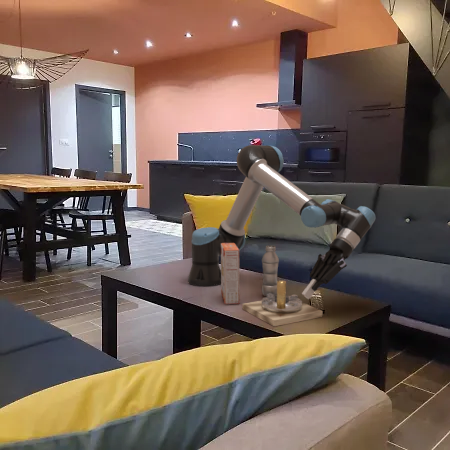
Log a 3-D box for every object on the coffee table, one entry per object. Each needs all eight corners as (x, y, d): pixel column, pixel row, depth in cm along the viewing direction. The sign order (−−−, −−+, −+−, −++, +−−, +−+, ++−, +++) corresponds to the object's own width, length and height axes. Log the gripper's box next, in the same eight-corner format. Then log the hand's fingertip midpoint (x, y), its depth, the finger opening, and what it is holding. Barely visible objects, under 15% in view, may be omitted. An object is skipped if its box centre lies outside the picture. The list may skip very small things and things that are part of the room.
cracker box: (220, 294, 189) (220, 242, 186) (235, 293, 189) (235, 242, 186) (223, 304, 175) (223, 249, 172) (239, 304, 176) (240, 249, 173)
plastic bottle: (277, 298, 183) (278, 248, 180) (260, 297, 184) (261, 247, 181) (279, 294, 189) (280, 245, 186) (262, 293, 190) (263, 244, 187)
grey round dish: (263, 299, 174) (263, 270, 172) (301, 301, 172) (302, 272, 170) (259, 313, 158) (260, 281, 156) (302, 315, 156) (302, 283, 154)
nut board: (242, 309, 170) (242, 303, 170) (287, 301, 180) (287, 295, 179) (274, 326, 153) (274, 320, 152) (322, 316, 162) (322, 310, 162)
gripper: (363, 254, 163) (323, 308, 157) (337, 247, 174) (299, 297, 168) (351, 240, 159) (311, 294, 154) (326, 234, 171) (287, 285, 165)
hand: (305, 296), depth 161 cm, fingers closed
